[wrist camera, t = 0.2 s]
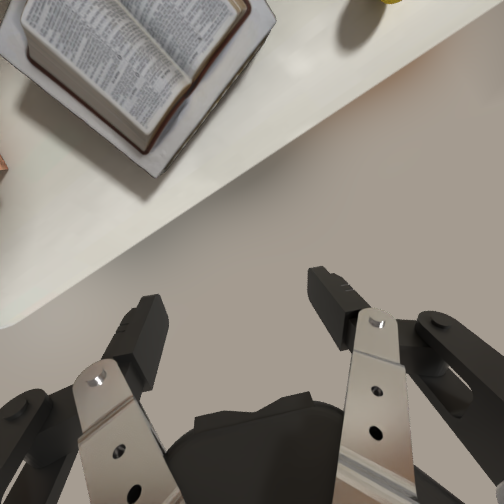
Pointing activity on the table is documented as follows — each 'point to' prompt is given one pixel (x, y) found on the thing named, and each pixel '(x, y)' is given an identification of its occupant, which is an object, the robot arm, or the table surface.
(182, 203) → the table surface
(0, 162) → the dish
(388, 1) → the lemon
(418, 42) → the table surface
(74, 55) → the bible
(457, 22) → the table surface
